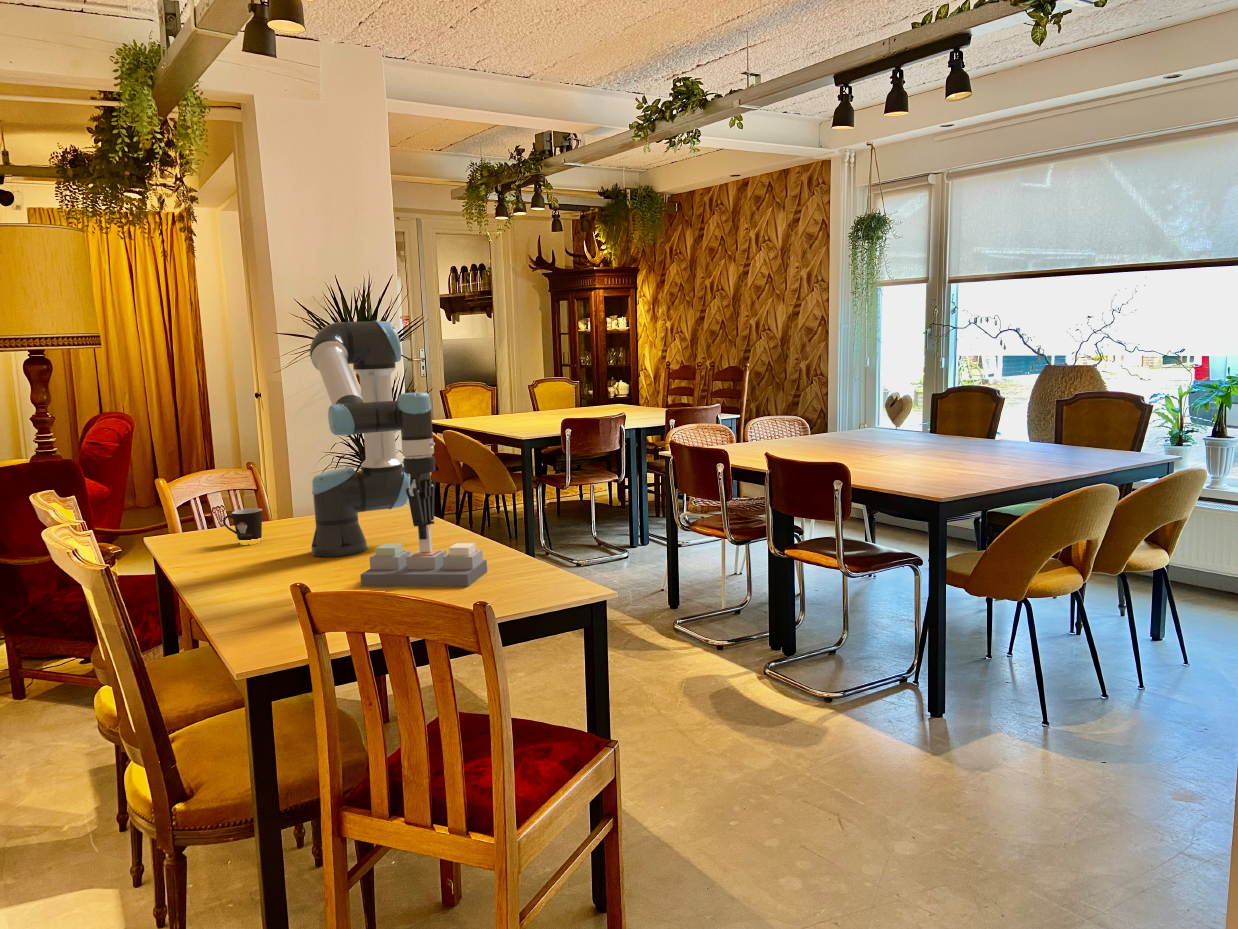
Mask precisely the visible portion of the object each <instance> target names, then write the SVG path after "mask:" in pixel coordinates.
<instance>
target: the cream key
mask: <svg viewBox="0 0 1238 929" xmlns="http://www.w3.org/2000/svg"><path fill="white" fill-rule="evenodd" d="M476 550H477V548H476V542H456V543H454V544H452V545H451V546H450V547H448V553H449V556H471V555H473V554H474V553H475V552H476Z"/></svg>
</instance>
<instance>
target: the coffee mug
mask: <svg viewBox="0 0 1238 929" xmlns="http://www.w3.org/2000/svg"><path fill="white" fill-rule="evenodd" d="M228 518H230V519H232V520H233V524H234V529H232V528H231V527H230V526H229V525H228V524H227V523H226V520H227V519H228ZM222 522H223V523H222V524H223V525H224V526H225V528H226V529H227V530H229V531H230V532H232V533H234V534H236V537H237V540H238V539H239V540H251V539H258V538H261V537H263V536H262V532H263V531H262V530H263V509H262V508H244V509H238V510H234V511H232V512H231V515H229V514H228V515H226V516H224V517H223V520H222Z"/></svg>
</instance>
